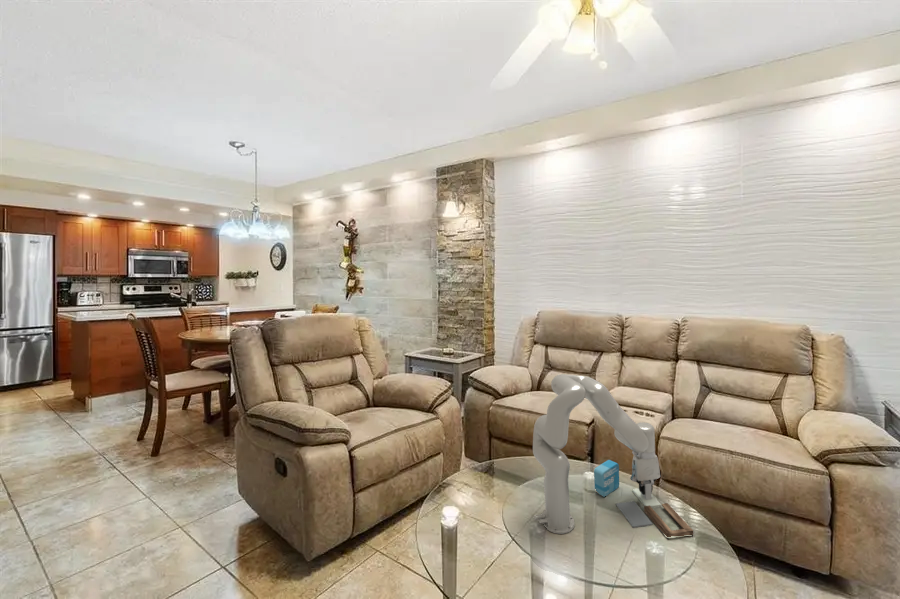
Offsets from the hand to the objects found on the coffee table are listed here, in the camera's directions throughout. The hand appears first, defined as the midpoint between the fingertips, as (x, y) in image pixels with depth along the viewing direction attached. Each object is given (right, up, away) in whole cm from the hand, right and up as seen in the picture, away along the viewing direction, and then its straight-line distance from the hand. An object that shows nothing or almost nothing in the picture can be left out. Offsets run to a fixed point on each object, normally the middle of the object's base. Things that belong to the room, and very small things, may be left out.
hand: (645, 491), depth 174 cm
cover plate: (0, -3, 0) cm, 3 cm away
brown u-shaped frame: (+1, -5, -15) cm, 16 cm away
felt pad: (-9, -5, -8) cm, 13 cm away
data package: (-13, -3, +8) cm, 16 cm away
